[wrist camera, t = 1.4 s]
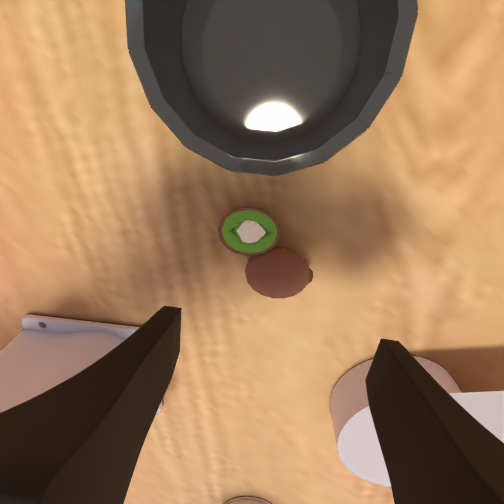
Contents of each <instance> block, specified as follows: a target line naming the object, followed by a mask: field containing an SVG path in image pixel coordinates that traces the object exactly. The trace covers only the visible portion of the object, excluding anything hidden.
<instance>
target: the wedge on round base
mask: <svg viewBox="0 0 504 504" xmlns="http://www.w3.org/2000/svg"><path fill="white" fill-rule="evenodd" d="M413 357H414V358H415V359H416V360H417V361H418V362H419V363H420V364H421V365H422V366H423V368H424V369H425V370H426V371H427V372H428V373H429V374H430V375H431V376H432V377H433V378H434V379H435V380H436V381H437V382H438V383H439V384H440V385H441V386H442V387H443V388H444V389H445V390H446V391H447V392H448V393H449V394H450V395H451V396H452V397H453V398H454V399H455V400H456V401H457V402H458V403H459V404H460V405H461V406H462V407H463V408H464V409H465V410H466V411H467V412H468V413H469V414H470V415H472V416H473V417H474V418H475V419H476V420H477V421H478V422H479V423H480V424H482V425H483V426H484V427H485V428H486V429H487V430H489V431H490V432H491V433H492V434H493V435H495V436H496V437H497V438H498V439H499V440H501V441H502V442H503V443H504V391H490V392H467V393H461V391H460V389H459V388H458V386H457V384H456V383H455V381H454V380H453V378H452V377H451V375H450V374H449V373H448V372H447V371H446V370H445V369H444V368H443V367H441V366H440V365H438V364H437V363H435V362H433V361H431V360H428V359H425V358H422V357H417V356H413ZM372 361H373V359H371V360H368V361H366V362H363V363H361V364H359V365H357V366H356V367H354V368H352V369H351V370H349V371H348V372H347V373H345V374H344V375H343V376H342V377H341V378H340V380H339V381H338V382H337V383H336V385H335V387H334V389H333V391H332V394H331V398H330V409H331V415H332V421H333V427H334V432H335V438H336V444H337V450H338V454H339V457H340V459H341V461H342V463H343V464H344V465H345V467H346V468H347V469H348V470H349V471H350V472H352V473H353V474H355V475H356V476H358V477H360V478H361V479H363V480H366V481H368V482H371V483H374V484H378V485H383V486H389V487H391V483H390V479H389V475H388V472H387V468H386V465H385V461H384V458H383V454H382V451H381V447H380V444H379V440H378V437H377V434H376V430H375V427H374V423H373V419H372V416H371V412H370V408H369V403H368V397H367V390H366V382H365V379H366V377H367V374H368V371H369V369H370V366H371V364H372Z"/></svg>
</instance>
